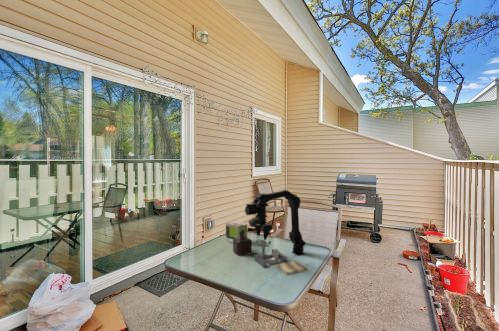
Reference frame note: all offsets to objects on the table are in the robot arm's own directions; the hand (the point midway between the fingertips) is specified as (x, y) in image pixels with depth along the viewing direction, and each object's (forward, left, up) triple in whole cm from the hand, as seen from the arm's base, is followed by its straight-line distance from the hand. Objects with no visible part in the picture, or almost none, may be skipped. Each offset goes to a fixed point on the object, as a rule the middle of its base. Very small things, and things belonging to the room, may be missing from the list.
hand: (261, 237), depth 162 cm
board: (-10, +18, -15) cm, 25 cm away
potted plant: (+6, -17, -15) cm, 23 cm away
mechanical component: (-5, -8, -15) cm, 18 cm away
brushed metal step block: (-4, +6, -15) cm, 16 cm away
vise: (-4, +4, -15) cm, 16 cm away
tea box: (+1, -42, -15) cm, 45 cm away
